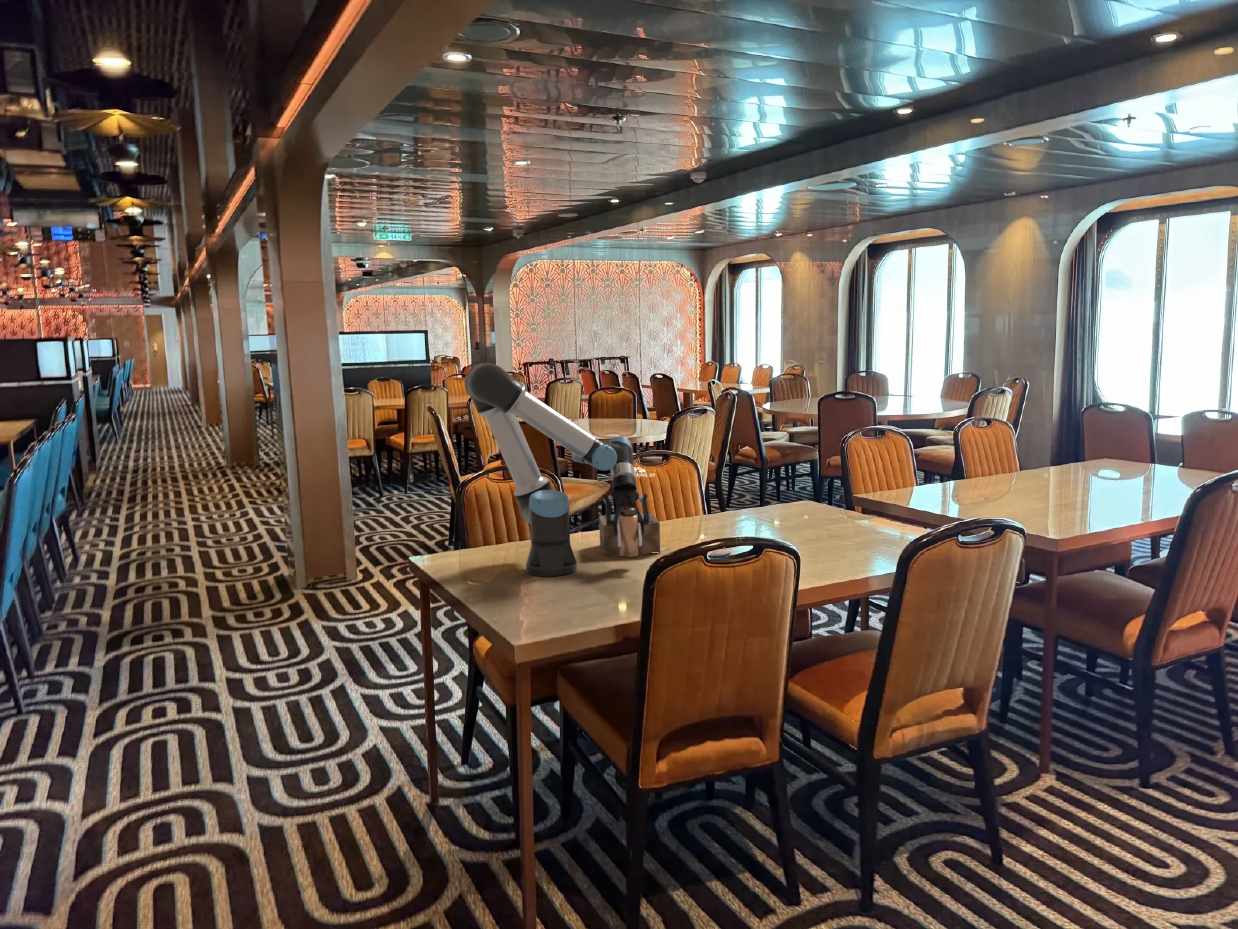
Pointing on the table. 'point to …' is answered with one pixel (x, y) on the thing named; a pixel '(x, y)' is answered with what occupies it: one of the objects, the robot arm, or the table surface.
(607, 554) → the walnut stand
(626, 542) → the copper pepper mill
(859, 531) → the table surface
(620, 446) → the robot arm
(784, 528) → the table surface
